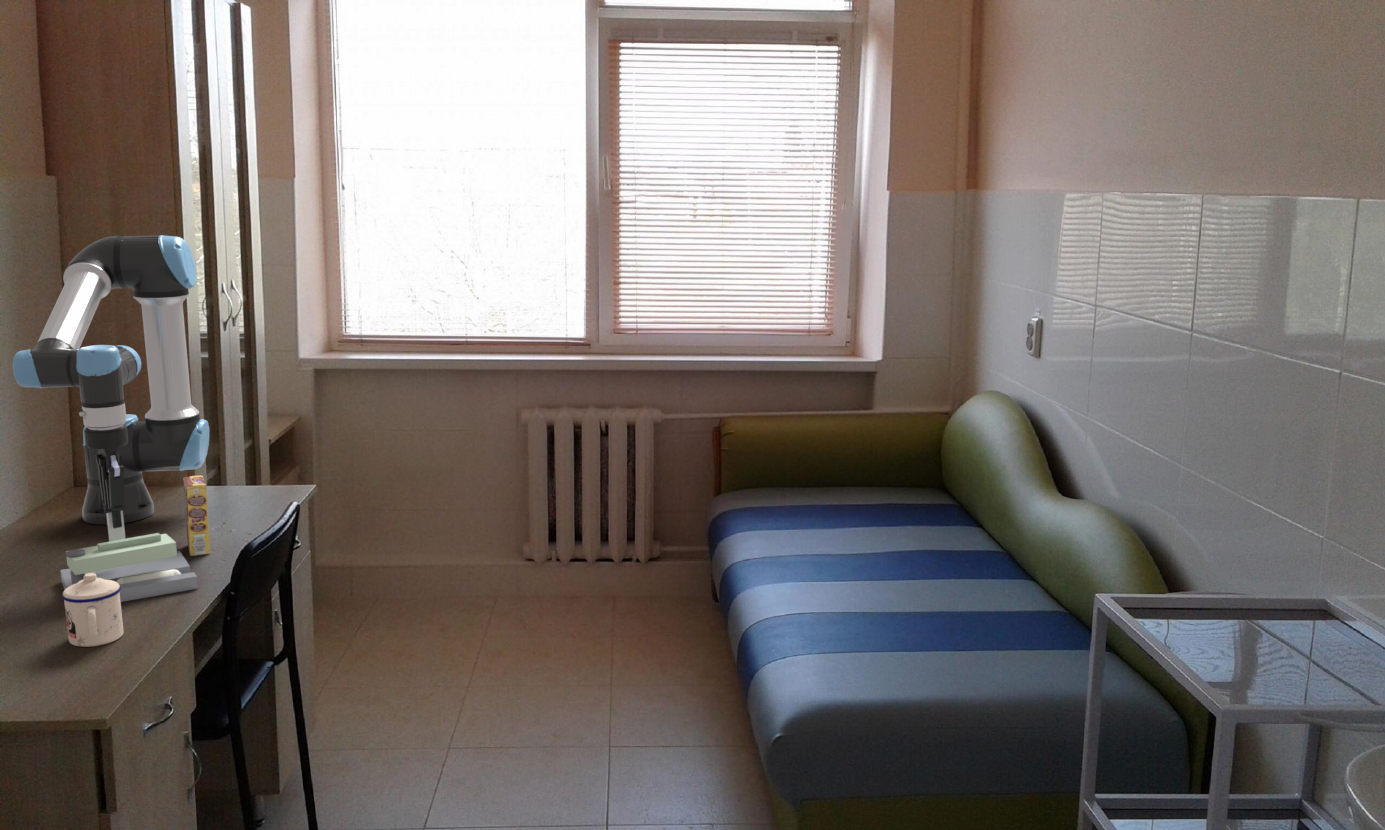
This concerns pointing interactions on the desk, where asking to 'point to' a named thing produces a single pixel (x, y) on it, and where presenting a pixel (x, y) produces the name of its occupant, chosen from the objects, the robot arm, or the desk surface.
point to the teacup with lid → (93, 611)
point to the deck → (147, 586)
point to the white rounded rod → (148, 576)
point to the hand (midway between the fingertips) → (117, 541)
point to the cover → (121, 553)
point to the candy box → (196, 515)
